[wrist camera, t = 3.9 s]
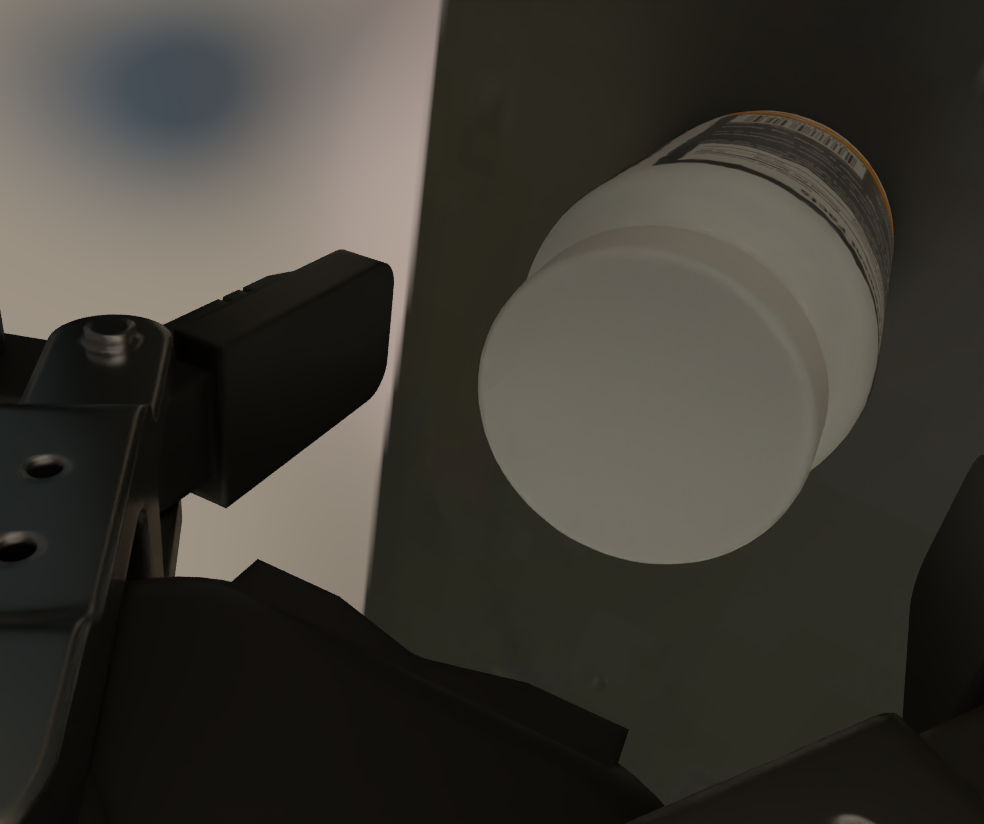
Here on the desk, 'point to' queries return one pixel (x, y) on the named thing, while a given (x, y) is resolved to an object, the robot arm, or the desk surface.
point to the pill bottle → (693, 339)
